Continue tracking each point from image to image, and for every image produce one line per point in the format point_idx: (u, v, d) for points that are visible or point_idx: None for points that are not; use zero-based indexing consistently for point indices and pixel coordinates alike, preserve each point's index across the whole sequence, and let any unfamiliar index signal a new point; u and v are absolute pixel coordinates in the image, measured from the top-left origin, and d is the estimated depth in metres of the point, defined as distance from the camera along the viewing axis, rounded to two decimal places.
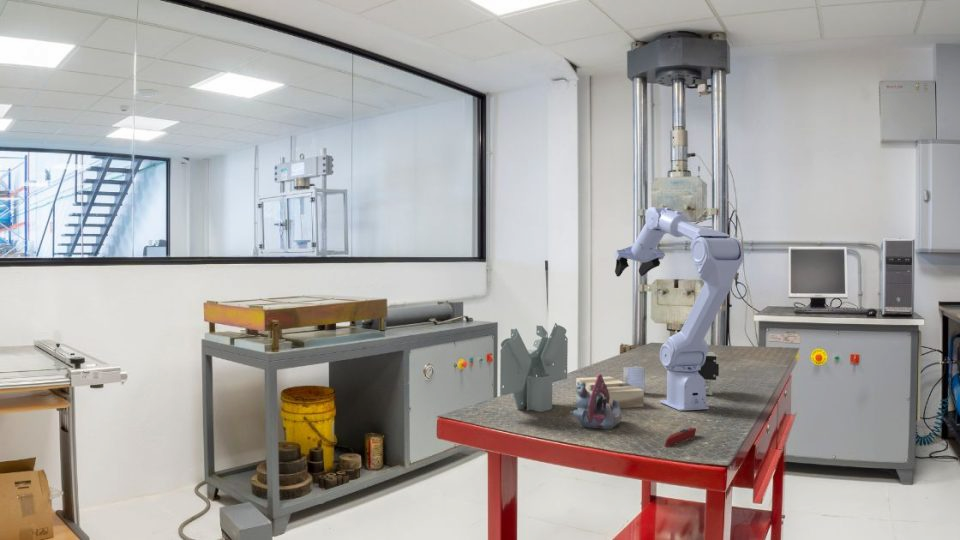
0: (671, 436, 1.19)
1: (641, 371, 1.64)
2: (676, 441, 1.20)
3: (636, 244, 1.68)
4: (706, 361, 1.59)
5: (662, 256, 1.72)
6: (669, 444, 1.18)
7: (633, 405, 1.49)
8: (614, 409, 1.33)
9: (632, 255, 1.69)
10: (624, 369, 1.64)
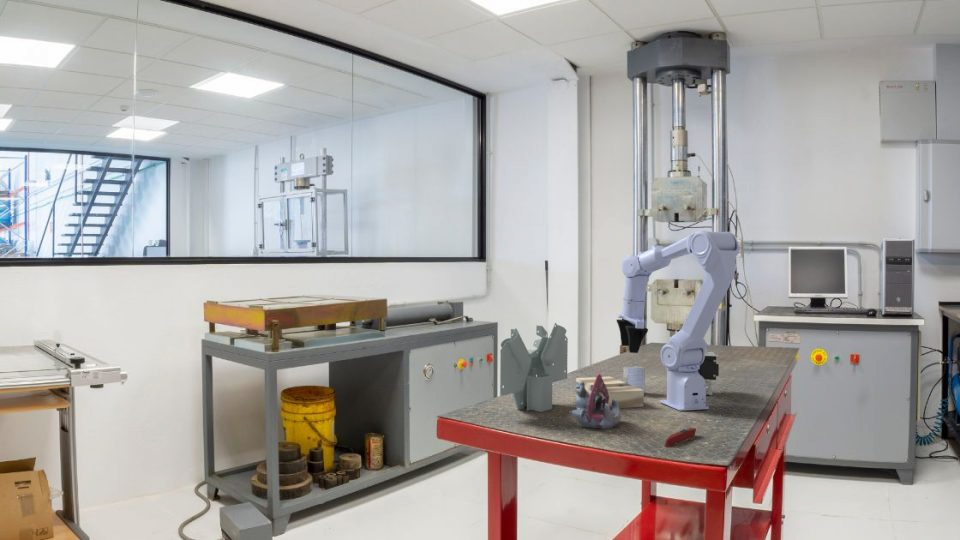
0: (671, 436, 1.19)
1: (641, 371, 1.64)
2: (676, 441, 1.20)
3: (636, 305, 1.63)
4: (706, 361, 1.59)
5: None
6: (669, 444, 1.18)
7: (633, 405, 1.49)
8: (614, 409, 1.33)
9: (639, 319, 1.63)
10: (624, 369, 1.64)
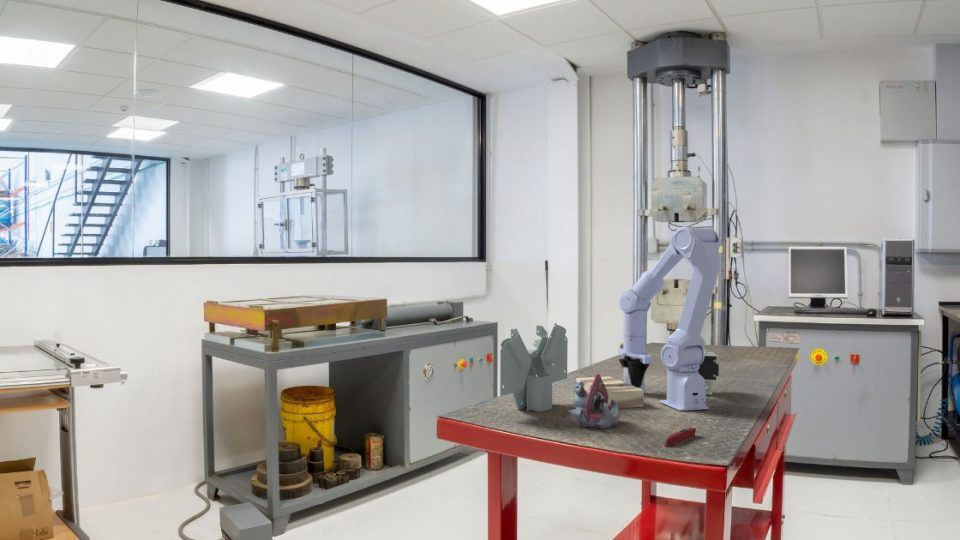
0: (671, 436, 1.19)
1: None
2: (676, 441, 1.20)
3: (639, 341, 1.62)
4: (706, 361, 1.59)
5: None
6: (669, 444, 1.18)
7: (633, 405, 1.49)
8: (612, 408, 1.34)
9: (642, 354, 1.62)
10: (624, 369, 1.64)
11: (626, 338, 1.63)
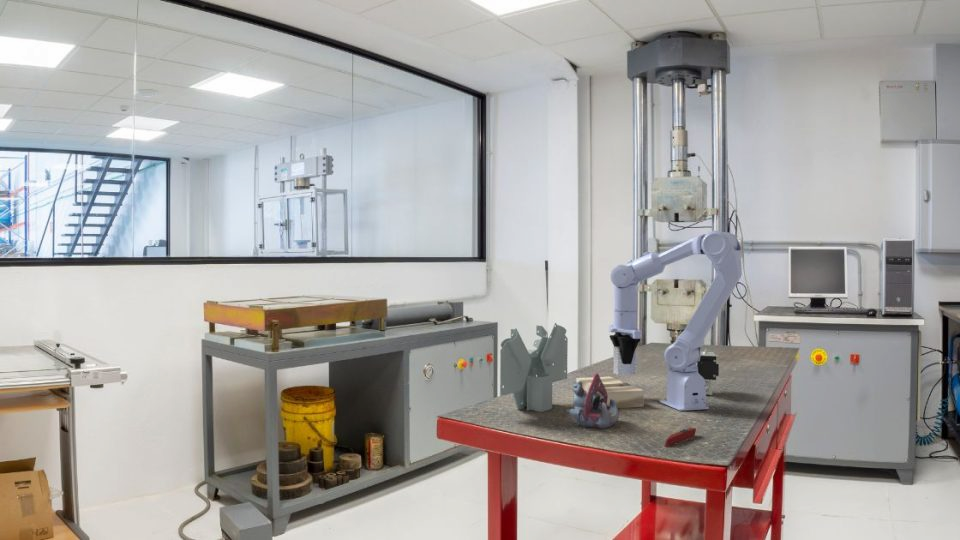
0: (671, 436, 1.19)
1: None
2: (676, 441, 1.20)
3: (629, 316, 1.57)
4: (706, 361, 1.59)
5: None
6: (669, 444, 1.18)
7: (633, 405, 1.49)
8: (611, 408, 1.34)
9: (633, 329, 1.57)
10: (614, 348, 1.60)
11: (616, 313, 1.59)
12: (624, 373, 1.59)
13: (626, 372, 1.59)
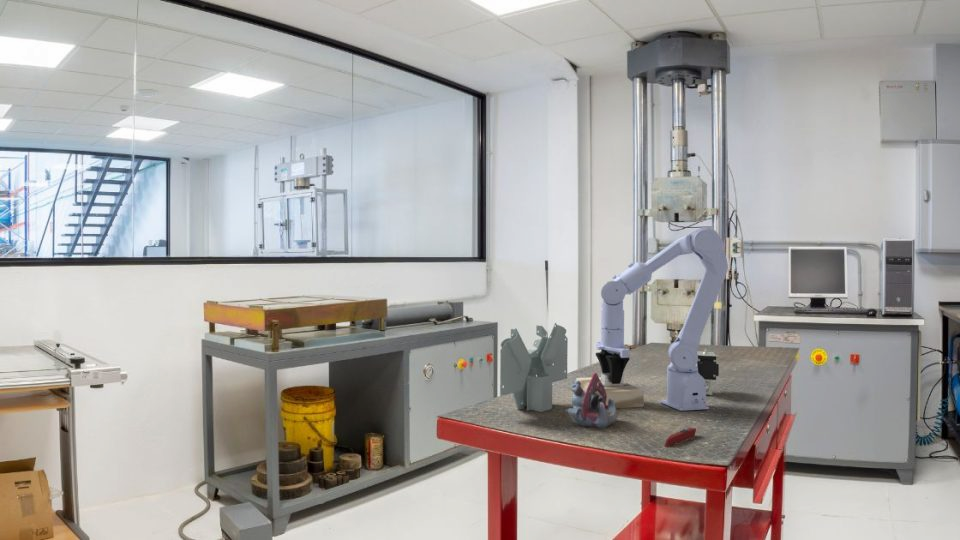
0: (671, 436, 1.19)
1: None
2: (676, 441, 1.20)
3: (617, 334, 1.52)
4: (706, 361, 1.59)
5: None
6: (669, 444, 1.18)
7: (633, 405, 1.49)
8: (610, 408, 1.34)
9: (621, 348, 1.52)
10: (602, 375, 1.55)
11: (603, 331, 1.54)
12: None
13: None
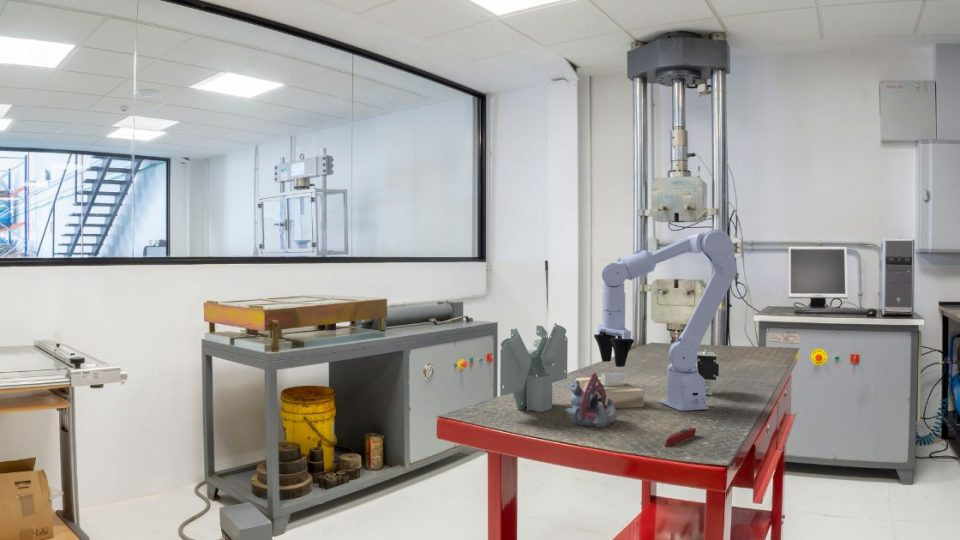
0: (671, 436, 1.19)
1: (620, 378, 1.54)
2: (676, 441, 1.20)
3: (618, 316, 1.53)
4: (706, 361, 1.59)
5: None
6: (669, 444, 1.18)
7: (633, 405, 1.49)
8: (609, 408, 1.34)
9: (622, 329, 1.53)
10: (602, 375, 1.55)
11: (605, 313, 1.54)
12: None
13: None
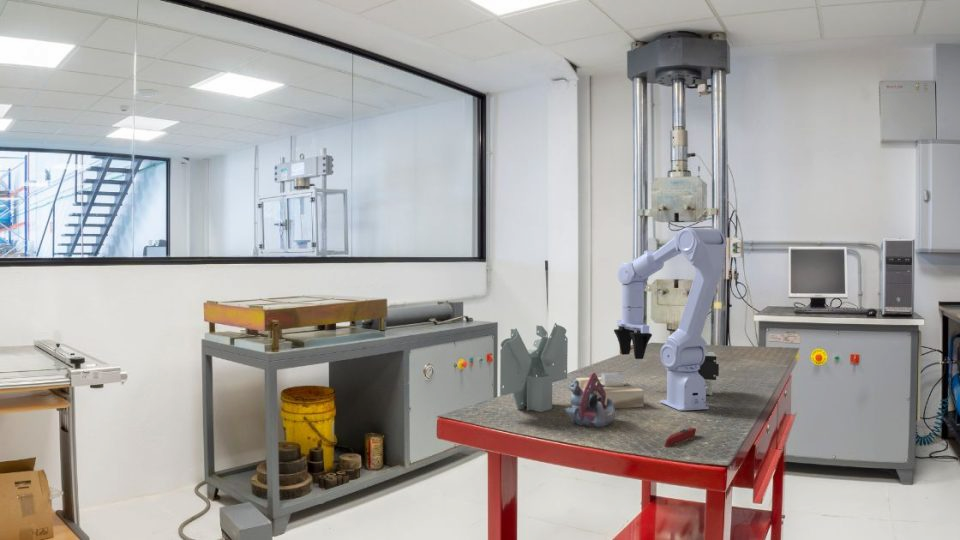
0: (671, 436, 1.19)
1: (619, 378, 1.54)
2: (676, 441, 1.20)
3: (637, 312, 1.65)
4: (706, 361, 1.59)
5: None
6: (669, 444, 1.18)
7: (633, 405, 1.49)
8: (608, 407, 1.35)
9: (640, 324, 1.65)
10: (602, 375, 1.55)
11: (624, 309, 1.66)
12: None
13: None
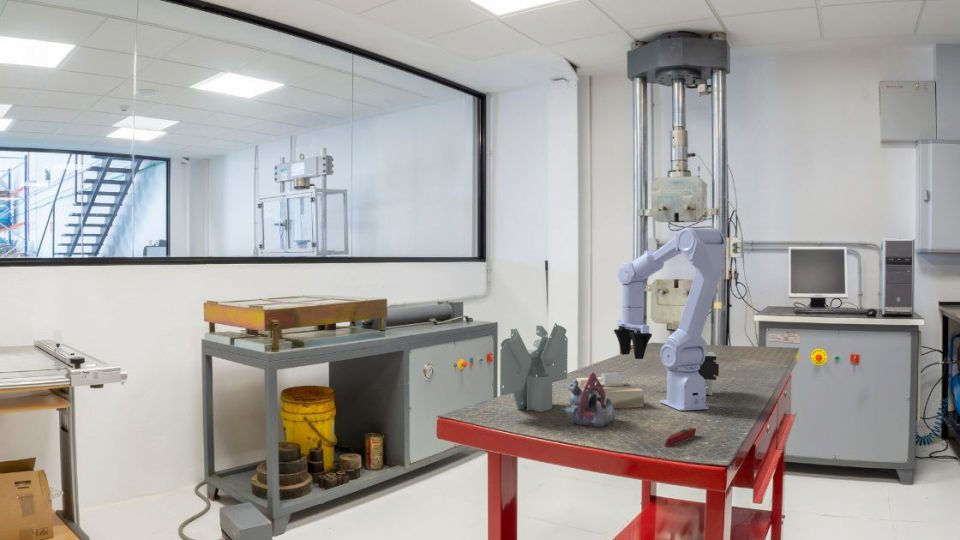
0: (671, 436, 1.19)
1: (619, 378, 1.54)
2: (676, 441, 1.20)
3: (637, 312, 1.65)
4: (706, 361, 1.59)
5: None
6: (669, 444, 1.18)
7: (633, 405, 1.49)
8: (607, 407, 1.35)
9: (640, 324, 1.65)
10: (602, 375, 1.55)
11: (624, 309, 1.66)
12: None
13: None
